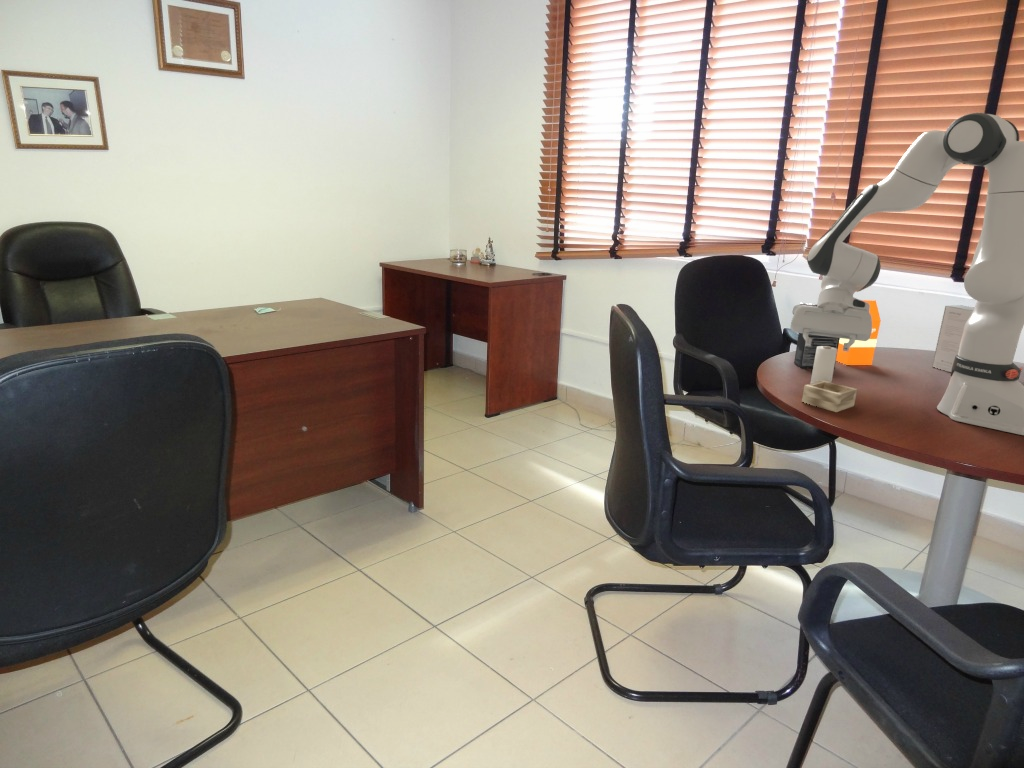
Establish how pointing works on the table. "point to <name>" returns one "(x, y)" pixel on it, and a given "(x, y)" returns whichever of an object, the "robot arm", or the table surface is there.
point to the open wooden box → (829, 395)
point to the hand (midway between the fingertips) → (826, 347)
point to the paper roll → (823, 364)
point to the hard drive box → (950, 335)
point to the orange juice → (861, 343)
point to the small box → (812, 349)
